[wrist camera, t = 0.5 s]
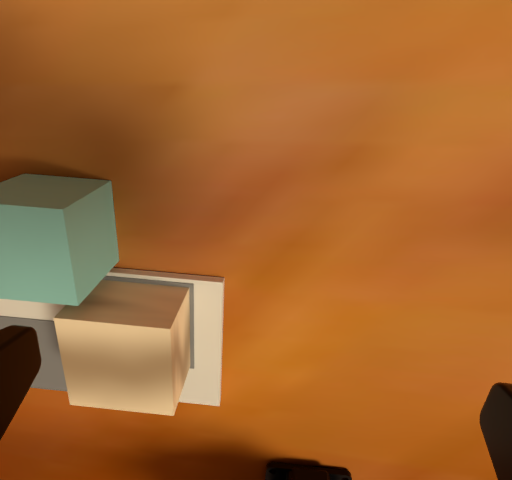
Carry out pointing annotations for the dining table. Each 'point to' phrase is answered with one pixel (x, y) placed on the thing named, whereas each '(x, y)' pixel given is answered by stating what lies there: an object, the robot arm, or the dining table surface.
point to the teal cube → (55, 237)
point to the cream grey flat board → (200, 287)
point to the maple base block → (126, 347)
